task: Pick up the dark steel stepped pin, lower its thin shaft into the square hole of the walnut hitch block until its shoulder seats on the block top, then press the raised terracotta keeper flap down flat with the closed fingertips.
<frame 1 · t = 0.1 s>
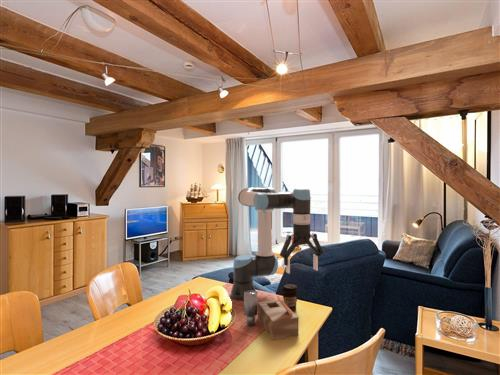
hand: (301, 271, 123), 28 cm above the table, fingers open, 13 cm apart
keeper: (284, 305, 125), point 12 cm above the table, hinge at 55.0°
pin: (250, 323, 133), on the table
hitch block: (277, 326, 130), on the table
coffee cup: (290, 310, 146), on the table
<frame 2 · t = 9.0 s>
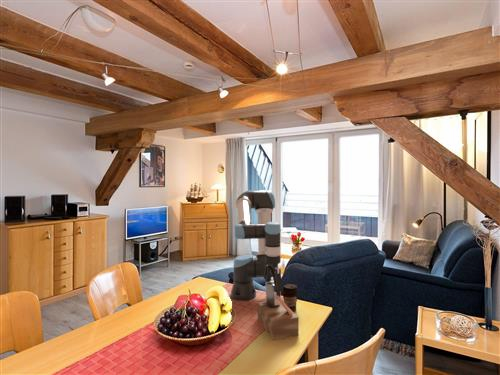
hand: (272, 299, 135), 11 cm above the table, fingers open, 11 cm apart
keeper: (284, 305, 125), point 12 cm above the table, hinge at 55.0°, touching gripper
pin: (272, 315, 135), point 3 cm above the table, touching hitch block
everything else where it was.
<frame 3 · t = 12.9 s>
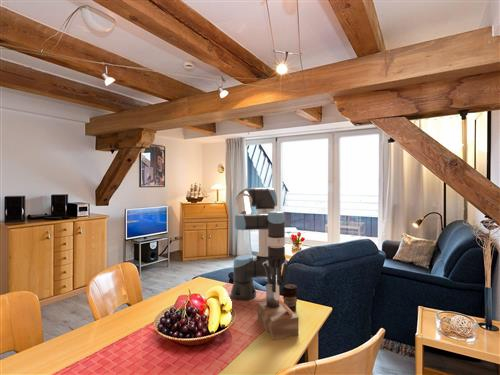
hand: (276, 298, 124), 16 cm above the table, fingers closed
keeper: (284, 305, 125), point 12 cm above the table, hinge at 51.5°, touching gripper
everything else where it was.
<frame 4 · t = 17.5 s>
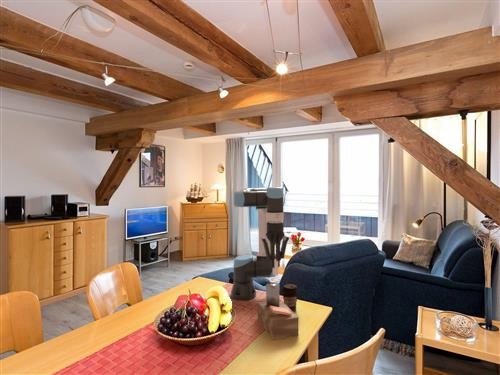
hand: (275, 274, 124), 26 cm above the table, fingers closed
keeper: (280, 310, 124), point 10 cm above the table, hinge at 17.8°
everything else where it was.
at the end: pin 0.1 cm from the target spot on the hitch block, point 3.0 cm above the hitch block's base; pin tilted 0°; keeper at +18° (first picture: +55°) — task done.
